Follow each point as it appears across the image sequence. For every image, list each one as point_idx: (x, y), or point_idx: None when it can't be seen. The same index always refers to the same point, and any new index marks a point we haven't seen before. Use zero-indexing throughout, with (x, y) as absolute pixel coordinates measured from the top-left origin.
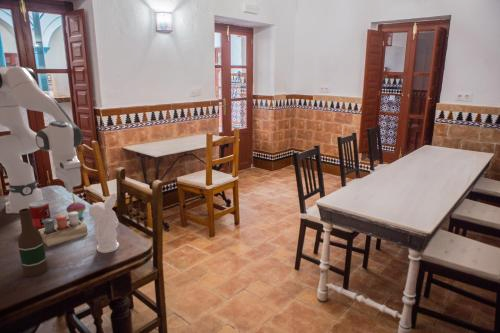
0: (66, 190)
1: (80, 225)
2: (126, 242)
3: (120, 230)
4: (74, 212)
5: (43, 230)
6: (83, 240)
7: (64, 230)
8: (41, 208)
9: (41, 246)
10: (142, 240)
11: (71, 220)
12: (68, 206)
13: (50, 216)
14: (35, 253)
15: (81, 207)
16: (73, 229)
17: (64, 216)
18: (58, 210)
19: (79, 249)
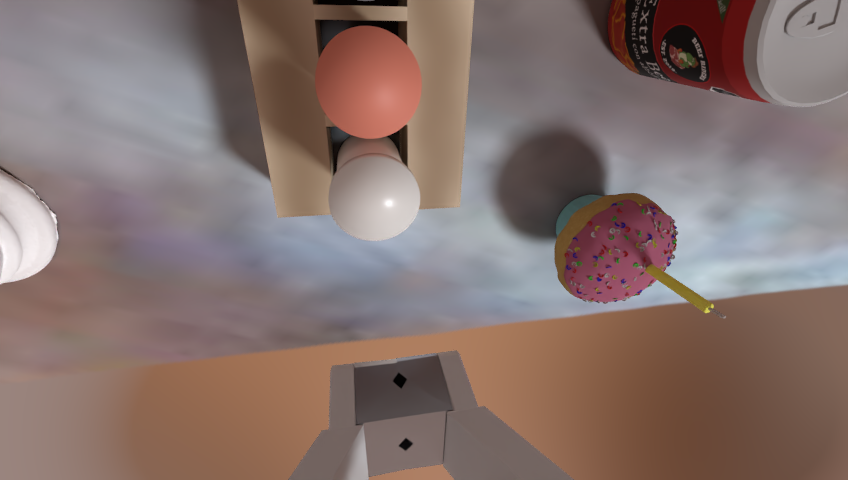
0: (452, 357)
1: (312, 187)
2: (17, 313)
3: (219, 332)
4: (389, 216)
5: None
6: (198, 138)
7: (293, 60)
8: (737, 2)
9: None
10: (5, 374)
11: (348, 155)
12: (651, 223)
13: (660, 76)
14: None
15: (570, 278)
16: (267, 124)
17: (352, 117)
18: (762, 171)
19: (42, 64)
